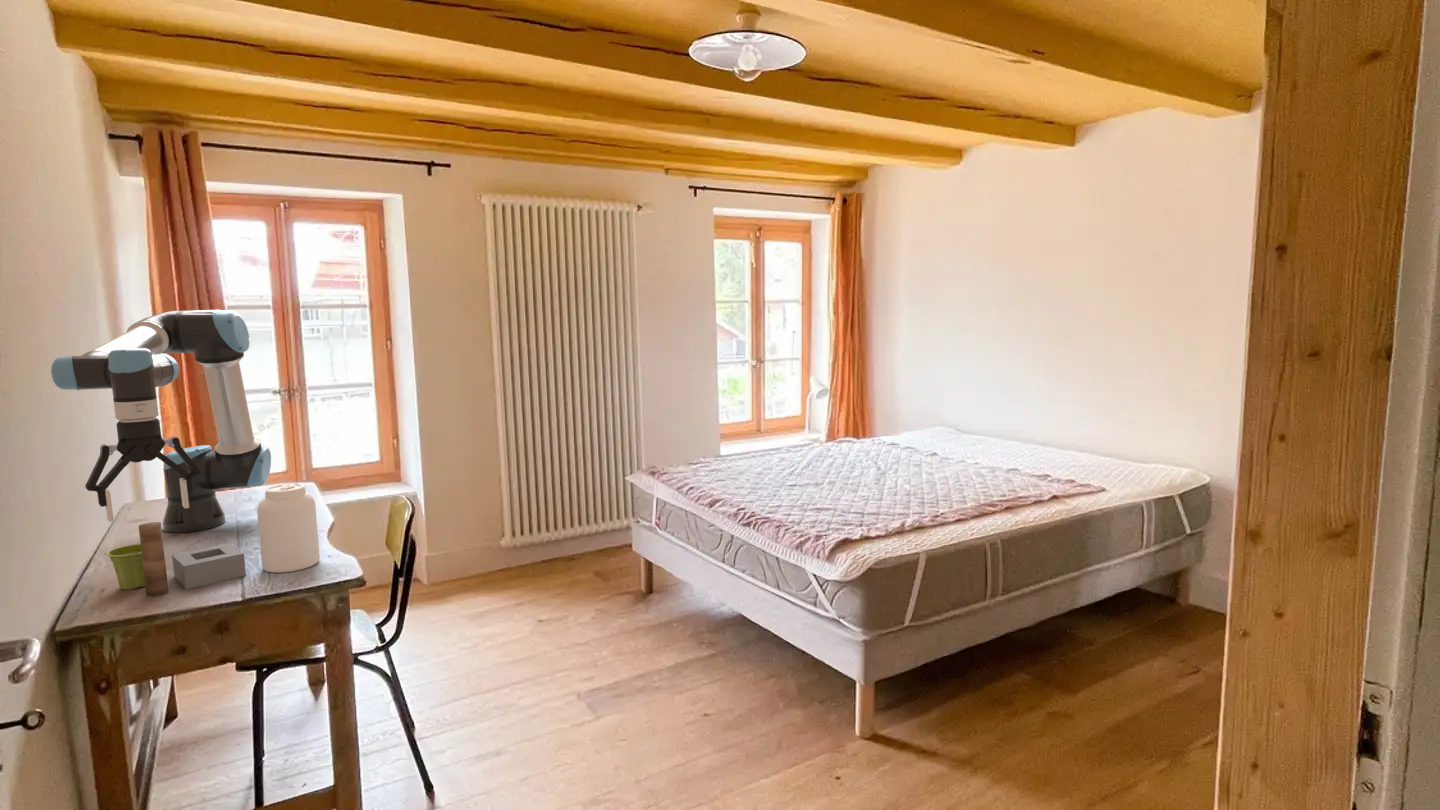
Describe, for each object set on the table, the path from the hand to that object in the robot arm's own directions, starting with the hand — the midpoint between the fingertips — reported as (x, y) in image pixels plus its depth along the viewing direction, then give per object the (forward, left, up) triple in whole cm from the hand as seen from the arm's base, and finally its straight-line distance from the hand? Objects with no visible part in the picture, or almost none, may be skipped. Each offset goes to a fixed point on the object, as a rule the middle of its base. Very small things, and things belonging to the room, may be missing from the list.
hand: (149, 513), depth 168 cm
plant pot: (-10, -2, -19) cm, 21 cm away
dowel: (0, 0, -18) cm, 18 cm away
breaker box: (-4, +11, -18) cm, 22 cm away
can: (+2, +27, -19) cm, 33 cm away
